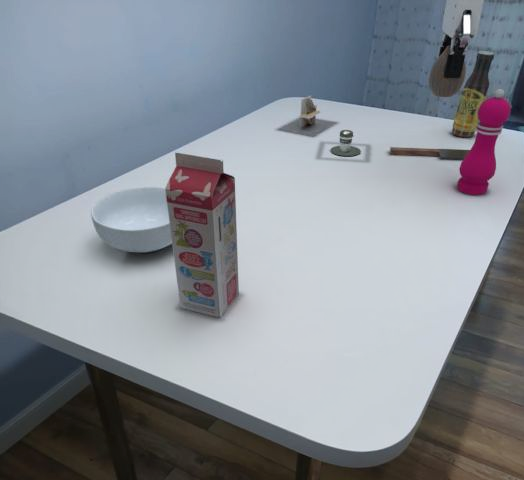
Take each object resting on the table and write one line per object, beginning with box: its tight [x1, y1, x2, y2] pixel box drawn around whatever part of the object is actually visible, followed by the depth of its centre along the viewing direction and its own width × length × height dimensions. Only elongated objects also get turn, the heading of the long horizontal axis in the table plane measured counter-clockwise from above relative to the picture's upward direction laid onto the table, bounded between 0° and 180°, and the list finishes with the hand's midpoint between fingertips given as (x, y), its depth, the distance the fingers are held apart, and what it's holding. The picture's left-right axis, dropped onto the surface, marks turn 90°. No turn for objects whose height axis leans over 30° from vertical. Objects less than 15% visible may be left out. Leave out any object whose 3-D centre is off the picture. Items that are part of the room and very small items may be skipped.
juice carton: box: [164, 151, 240, 319], centre depth 69 cm, size 7×7×22 cm
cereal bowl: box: [90, 186, 172, 254], centre depth 88 cm, size 17×17×7 cm
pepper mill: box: [456, 88, 512, 196], centre depth 102 cm, size 7×7×20 cm
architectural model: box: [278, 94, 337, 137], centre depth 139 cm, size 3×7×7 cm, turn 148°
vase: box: [428, 45, 467, 98], centre depth 100 cm, size 7×7×9 cm
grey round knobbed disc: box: [329, 129, 362, 157], centre depth 125 cm, size 12×12×5 cm
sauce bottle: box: [451, 50, 496, 138], centre depth 130 cm, size 6×6×20 cm
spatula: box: [389, 146, 471, 161], centre depth 124 cm, size 21×6×1 cm, turn 84°
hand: (447, 72), depth 100 cm, fingers closed on vase, 6 cm apart
